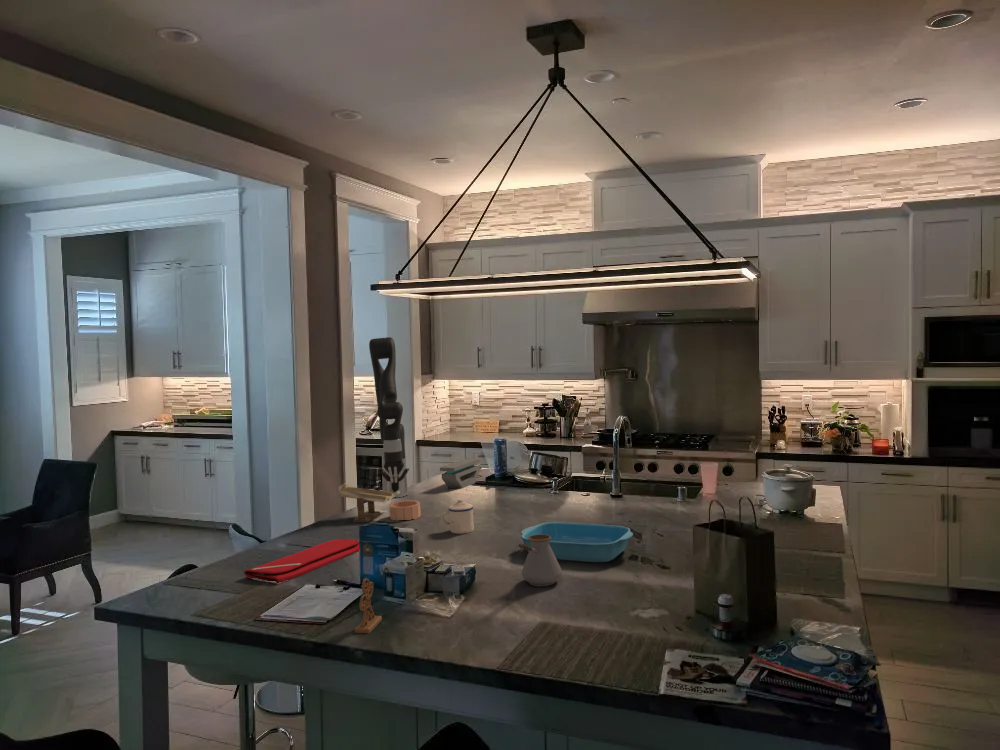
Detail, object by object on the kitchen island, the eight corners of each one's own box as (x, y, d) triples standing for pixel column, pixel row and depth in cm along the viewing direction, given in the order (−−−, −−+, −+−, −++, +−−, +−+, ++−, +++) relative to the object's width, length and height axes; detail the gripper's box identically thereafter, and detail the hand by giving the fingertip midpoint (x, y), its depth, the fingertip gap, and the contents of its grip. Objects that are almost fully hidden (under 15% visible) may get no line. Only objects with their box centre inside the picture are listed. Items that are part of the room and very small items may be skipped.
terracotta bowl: (396, 514, 306) (395, 500, 306) (424, 513, 304) (423, 500, 303) (386, 521, 294) (385, 507, 294) (415, 521, 292) (414, 507, 292)
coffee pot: (530, 574, 219) (527, 523, 218) (568, 576, 214) (565, 525, 213) (501, 599, 199) (498, 543, 198) (541, 602, 194) (538, 546, 194)
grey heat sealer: (467, 480, 371) (466, 458, 370) (481, 480, 367) (479, 458, 367) (441, 490, 349) (439, 467, 348) (455, 491, 345) (454, 468, 345)
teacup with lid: (476, 527, 277) (474, 496, 276) (472, 533, 268) (470, 502, 267) (445, 528, 278) (443, 497, 278) (439, 534, 269) (437, 502, 269)
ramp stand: (366, 513, 310) (364, 491, 309) (379, 513, 309) (378, 491, 308) (353, 522, 296) (351, 498, 296) (367, 522, 295) (365, 498, 294)
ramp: (355, 487, 317) (356, 477, 317) (399, 493, 314) (400, 483, 313) (338, 496, 300) (338, 486, 300) (385, 503, 296) (385, 492, 296)
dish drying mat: (368, 549, 258) (367, 538, 258) (279, 586, 223) (278, 574, 222) (334, 544, 266) (333, 534, 266) (243, 580, 231) (242, 568, 230)
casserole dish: (509, 558, 236) (508, 536, 236) (539, 539, 256) (537, 519, 255) (620, 569, 219) (619, 545, 218) (643, 548, 239) (642, 526, 238)
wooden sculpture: (369, 633, 181) (365, 584, 180) (354, 632, 182) (350, 584, 181) (382, 619, 190) (379, 573, 189) (368, 619, 191) (364, 573, 190)
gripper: (410, 448, 312) (413, 488, 313) (381, 449, 315) (383, 489, 316) (405, 451, 305) (407, 492, 306) (374, 452, 308) (377, 493, 308)
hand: (395, 491), depth 311 cm, fingers closed
